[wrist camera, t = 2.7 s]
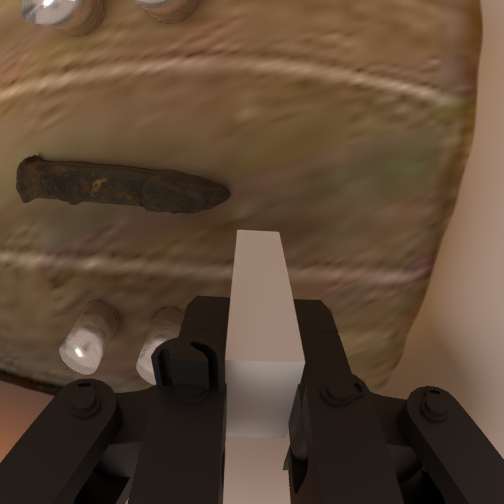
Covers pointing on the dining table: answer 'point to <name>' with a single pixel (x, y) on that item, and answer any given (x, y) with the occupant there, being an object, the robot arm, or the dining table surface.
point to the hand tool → (117, 186)
